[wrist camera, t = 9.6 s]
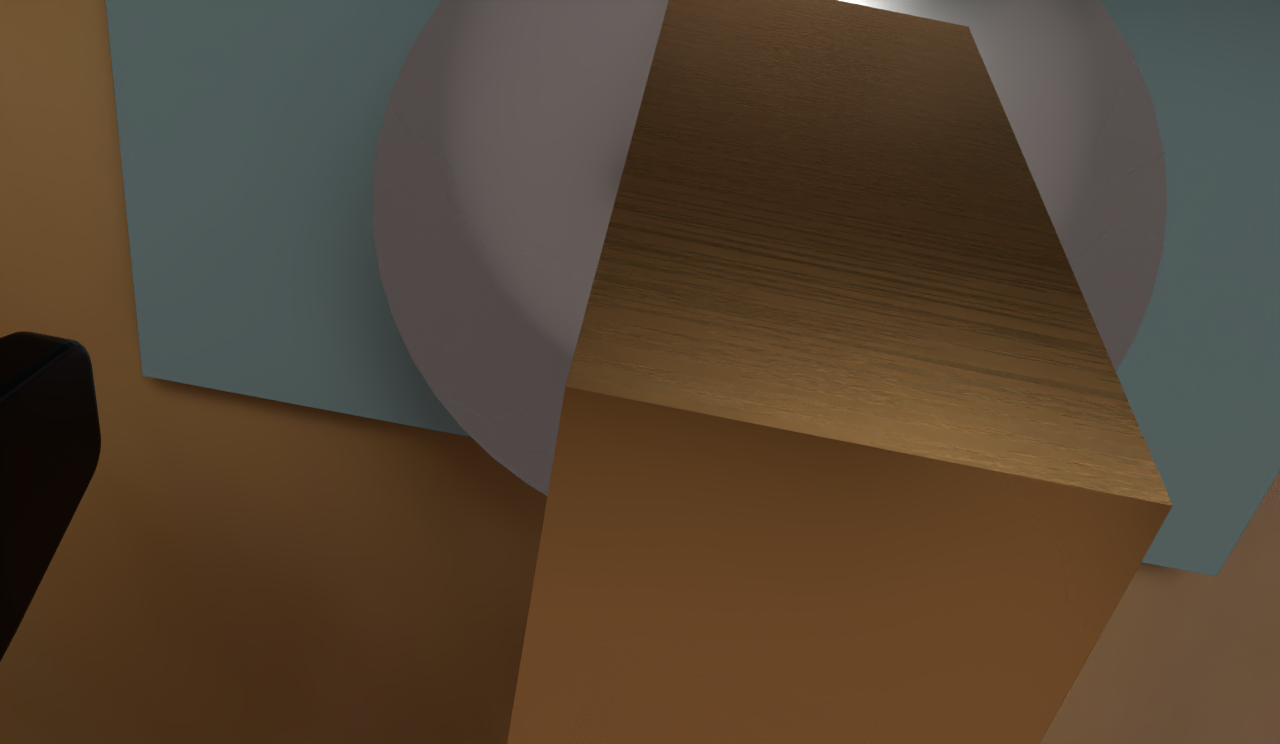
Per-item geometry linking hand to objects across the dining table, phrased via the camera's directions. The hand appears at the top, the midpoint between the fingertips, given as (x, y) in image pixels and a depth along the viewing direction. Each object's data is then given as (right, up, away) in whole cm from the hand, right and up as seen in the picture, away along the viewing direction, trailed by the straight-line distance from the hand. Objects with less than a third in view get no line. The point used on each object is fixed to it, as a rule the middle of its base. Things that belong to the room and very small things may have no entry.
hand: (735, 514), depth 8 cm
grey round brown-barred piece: (+1, +4, +5) cm, 7 cm away
